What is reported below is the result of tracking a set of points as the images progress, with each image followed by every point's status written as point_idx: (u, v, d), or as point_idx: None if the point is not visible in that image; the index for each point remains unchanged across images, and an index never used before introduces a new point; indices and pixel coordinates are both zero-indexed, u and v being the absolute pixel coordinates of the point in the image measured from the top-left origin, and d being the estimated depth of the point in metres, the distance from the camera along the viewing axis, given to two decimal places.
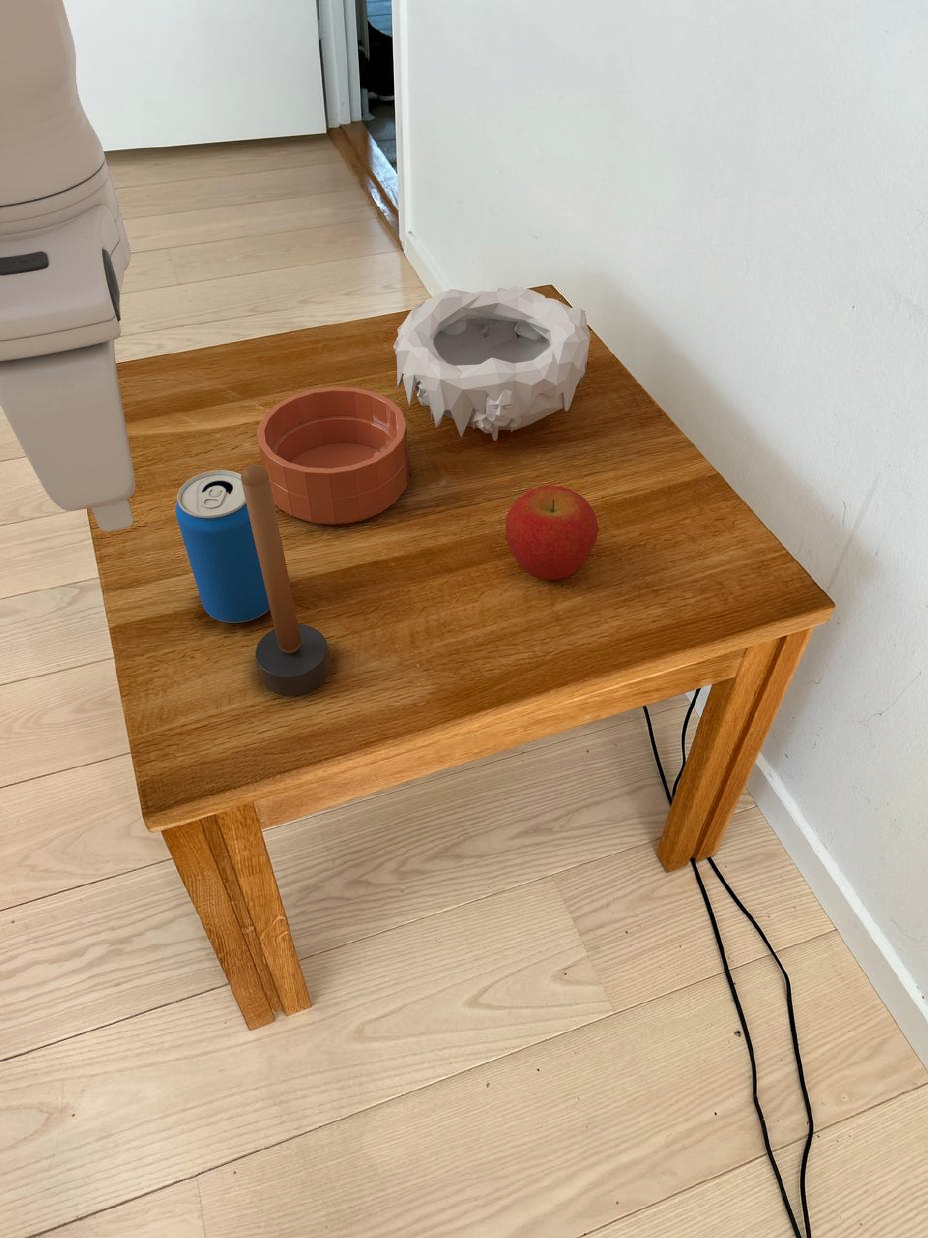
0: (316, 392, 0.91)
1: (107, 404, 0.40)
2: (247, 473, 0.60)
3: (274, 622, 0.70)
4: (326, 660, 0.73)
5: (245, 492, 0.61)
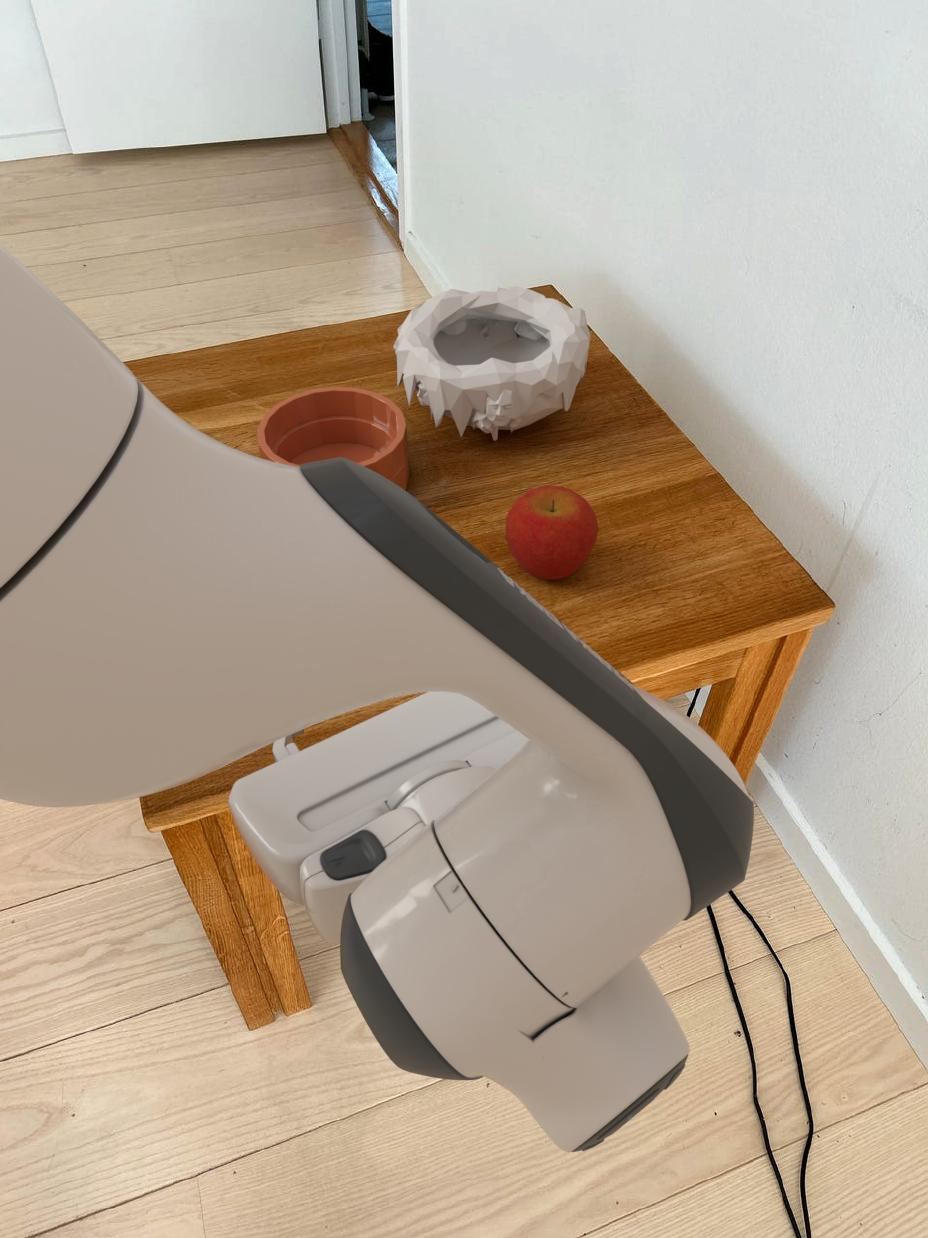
0: (316, 392, 0.91)
1: (275, 886, 0.51)
2: None
3: None
4: None
5: None
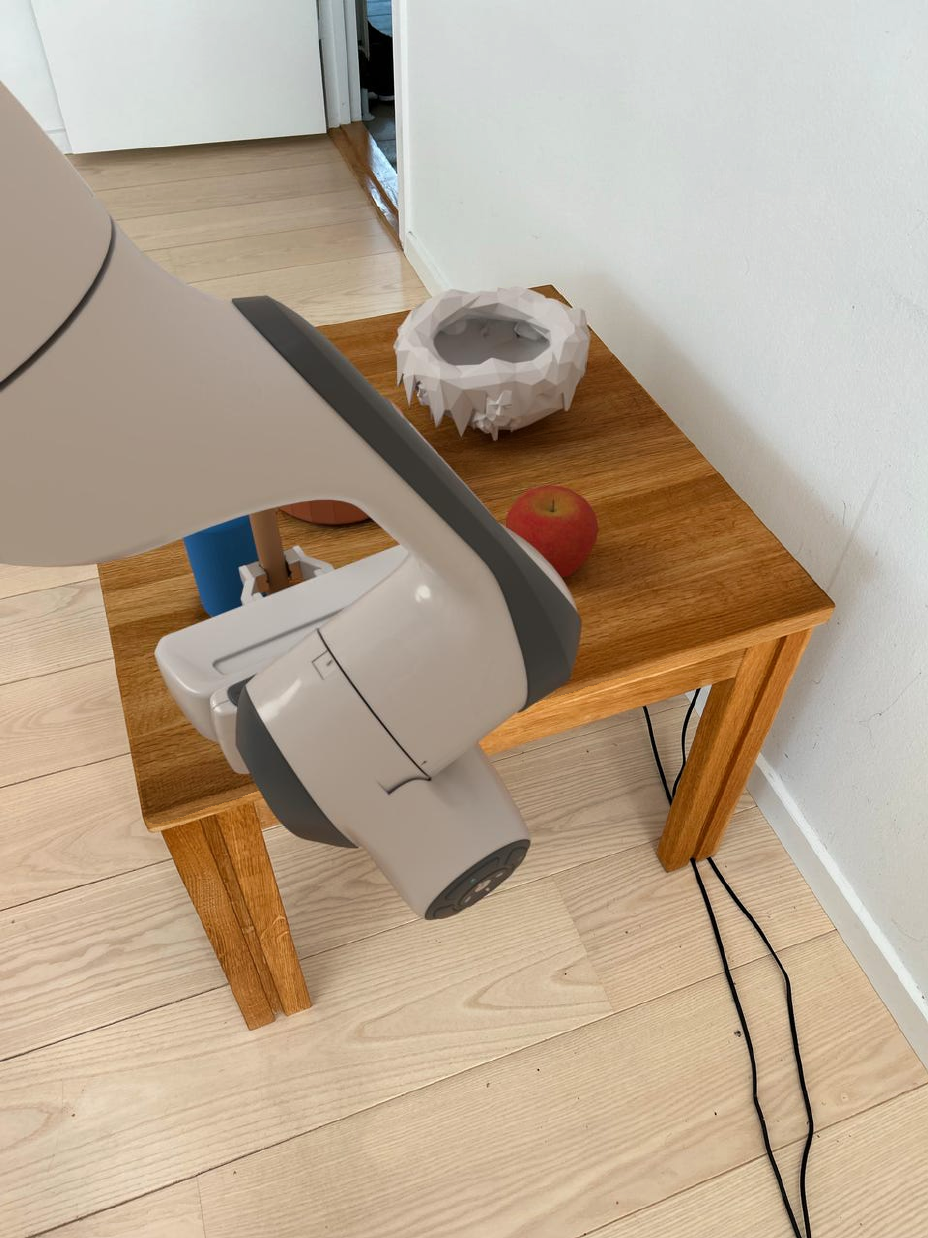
0: None
1: None
2: None
3: None
4: None
5: None
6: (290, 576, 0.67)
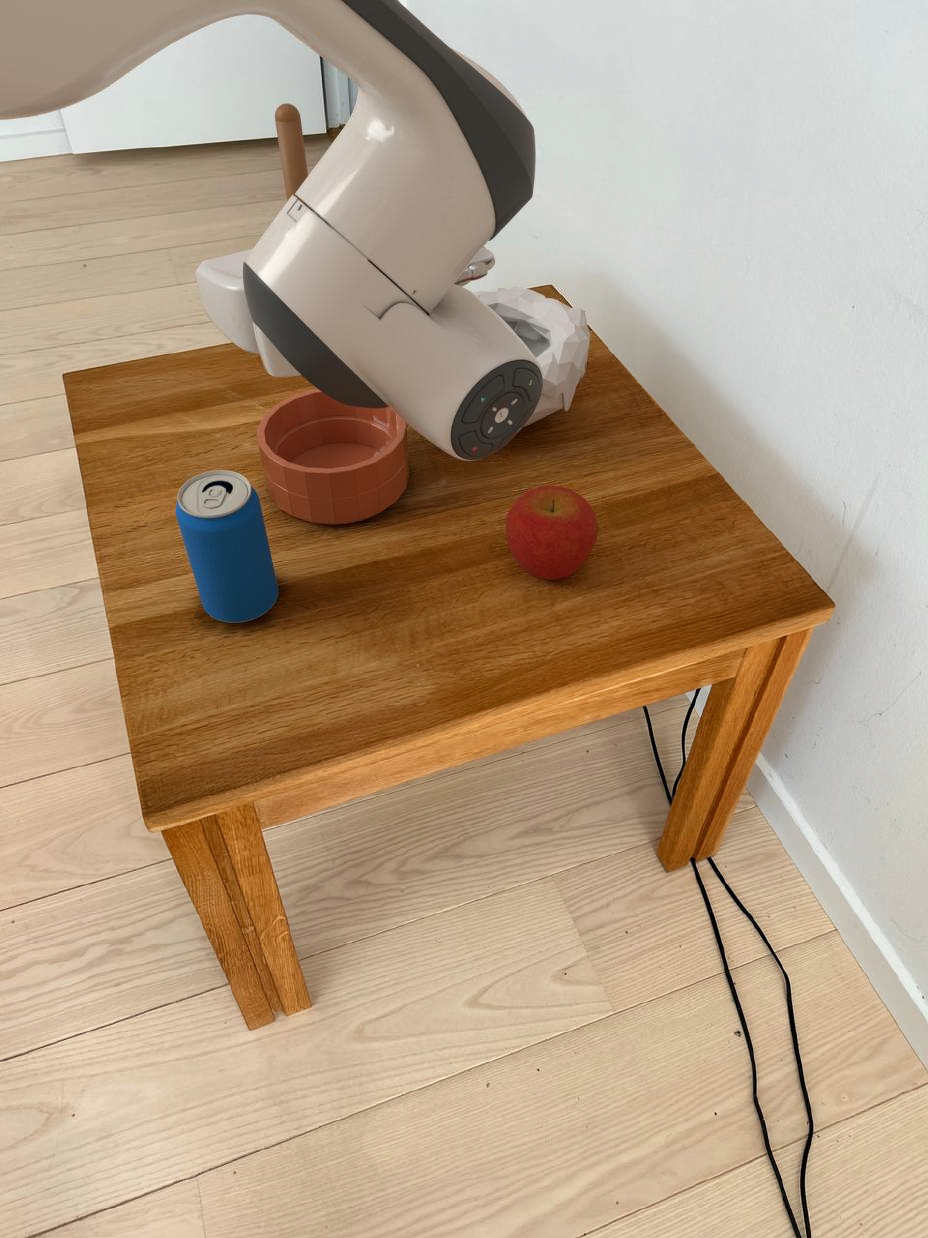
0: (316, 392, 0.91)
1: (233, 340, 0.64)
2: (281, 109, 0.65)
3: None
4: None
5: (279, 131, 0.66)
6: None
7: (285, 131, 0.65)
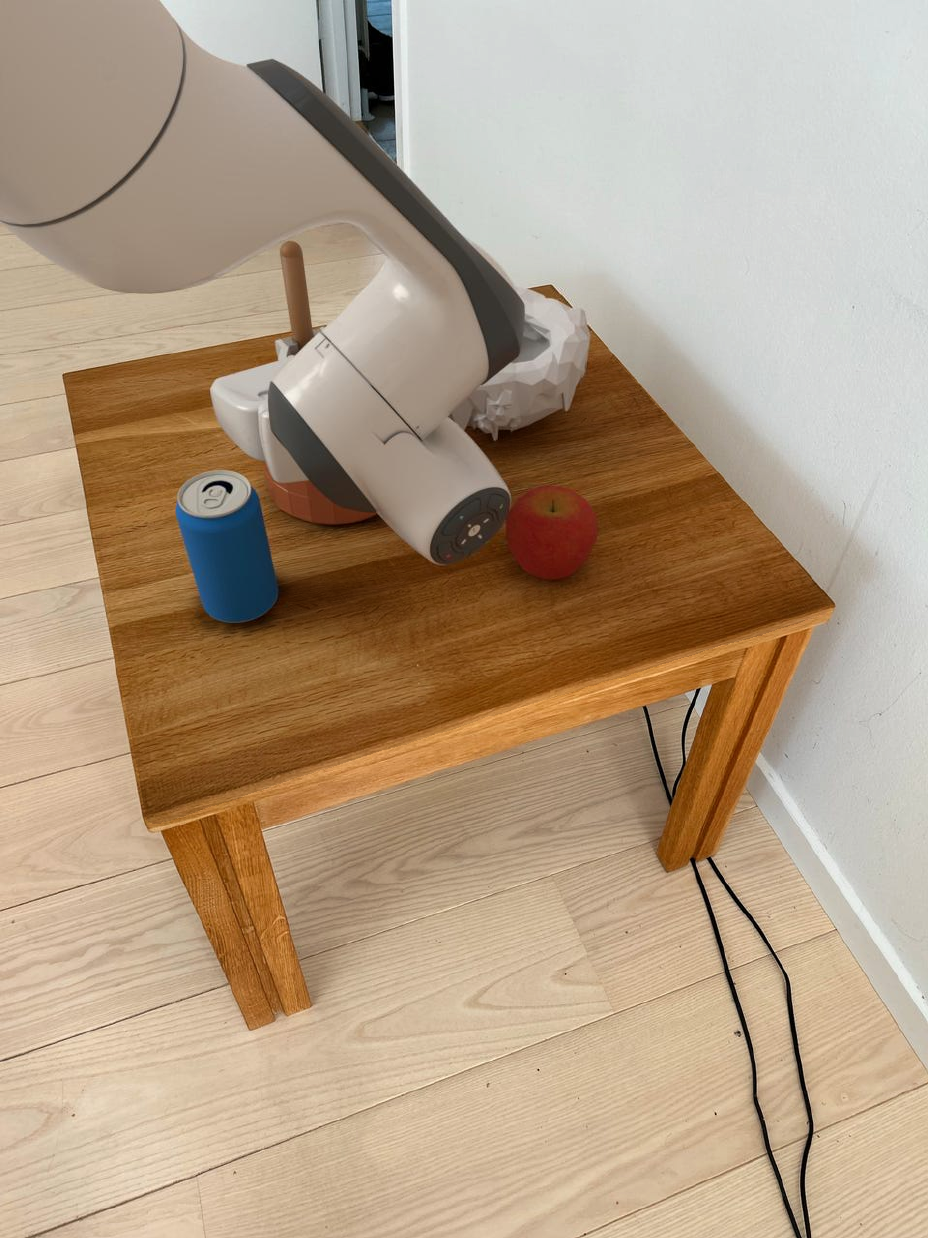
0: None
1: (242, 448, 0.73)
2: (285, 246, 0.74)
3: None
4: None
5: (283, 264, 0.75)
6: None
7: (289, 264, 0.75)
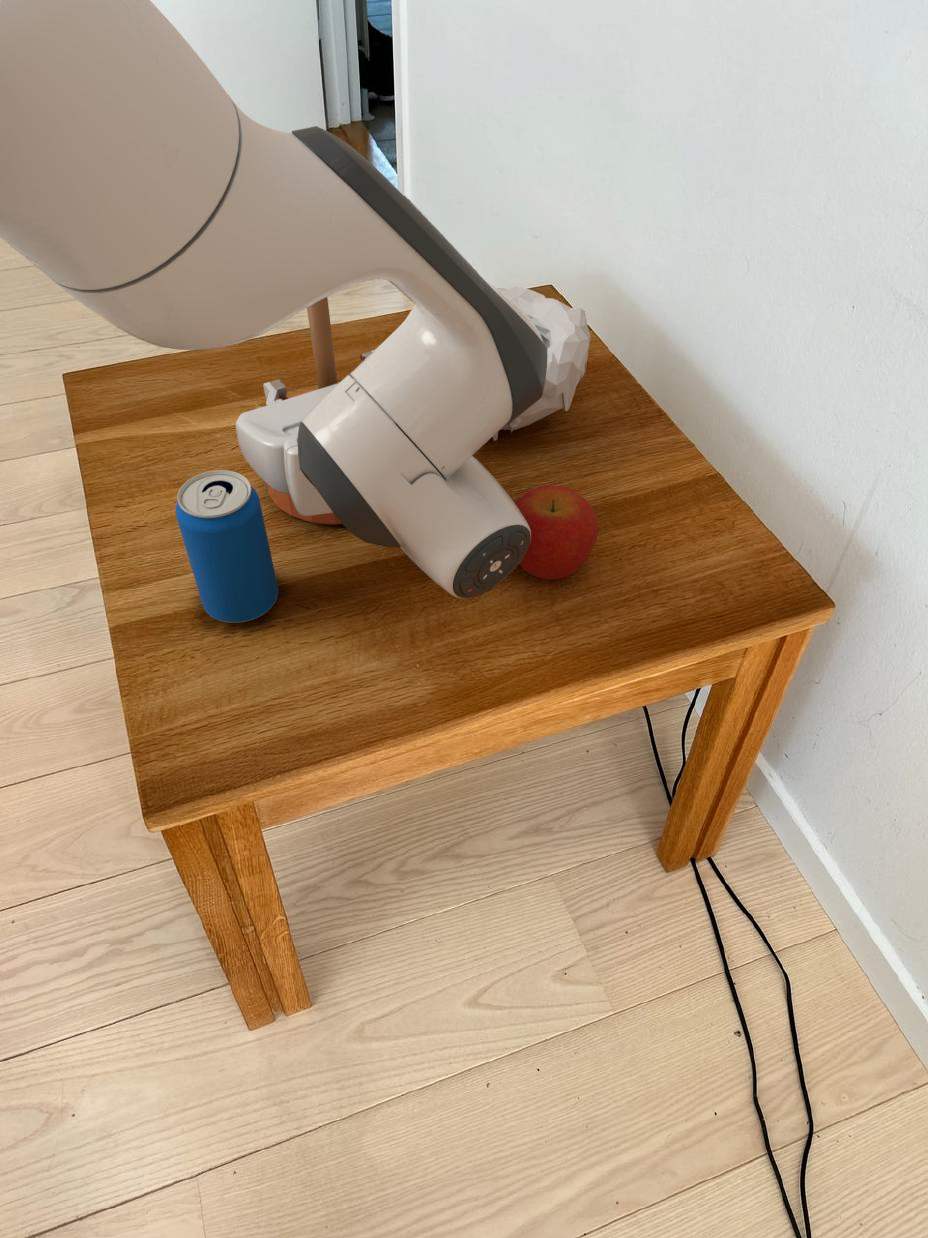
0: None
1: (267, 482, 0.75)
2: None
3: None
4: None
5: None
6: None
7: (313, 304, 0.77)
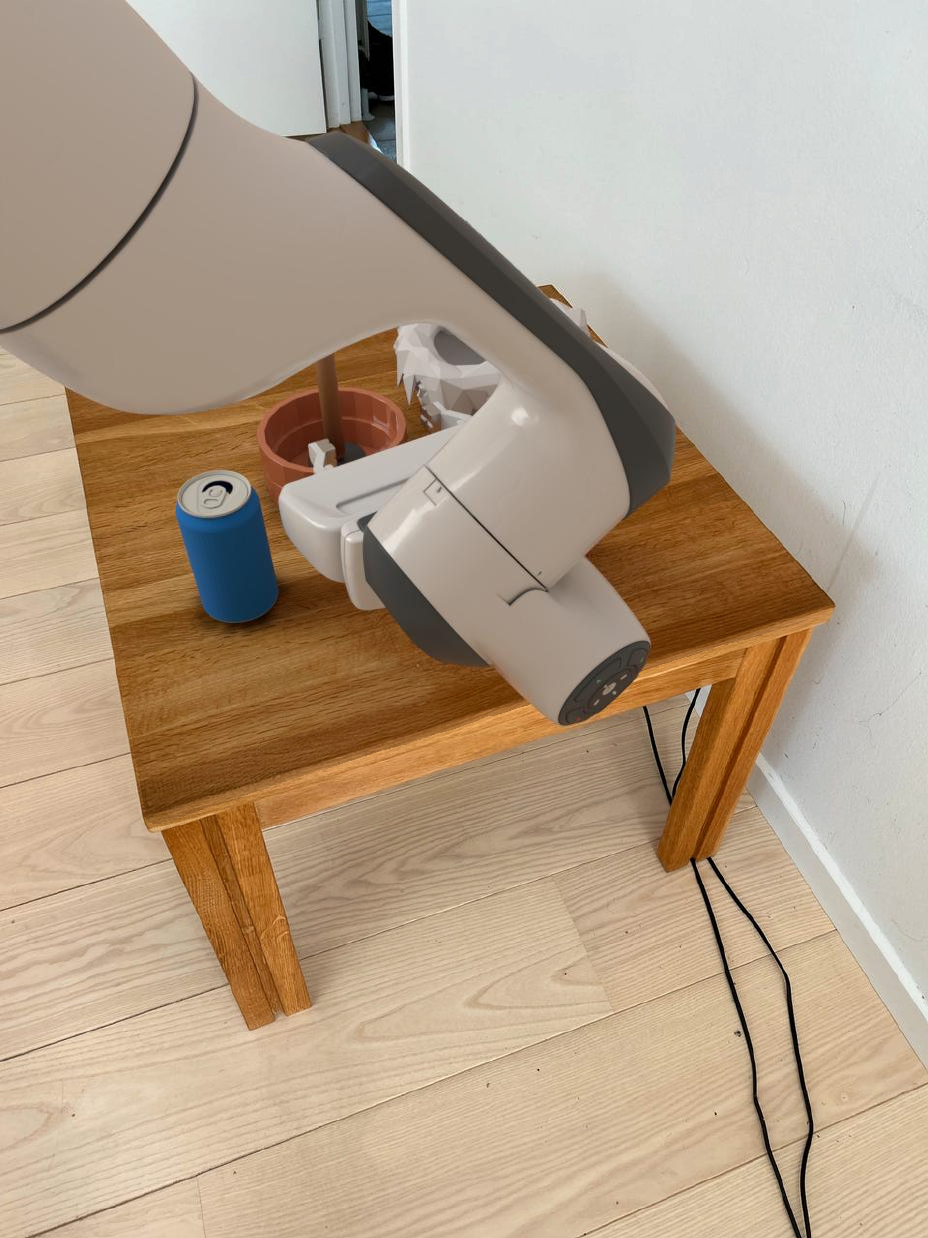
0: (316, 392, 0.91)
1: (317, 568, 0.63)
2: None
3: (325, 429, 0.86)
4: None
5: None
6: (430, 429, 0.71)
7: None
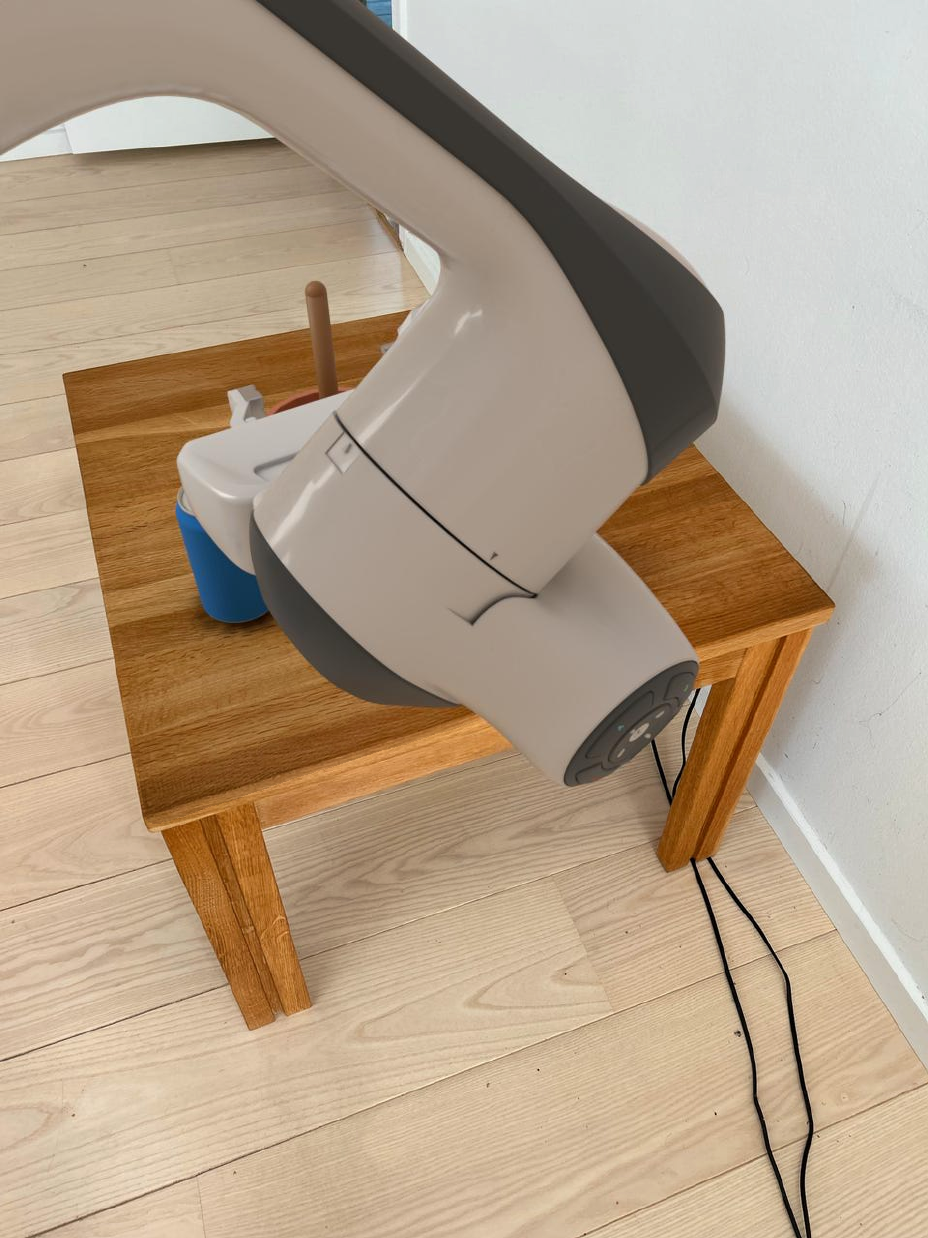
0: (316, 392, 0.91)
1: (229, 556, 0.45)
2: (310, 286, 0.76)
3: None
4: None
5: (308, 303, 0.77)
6: None
7: (313, 304, 0.77)
